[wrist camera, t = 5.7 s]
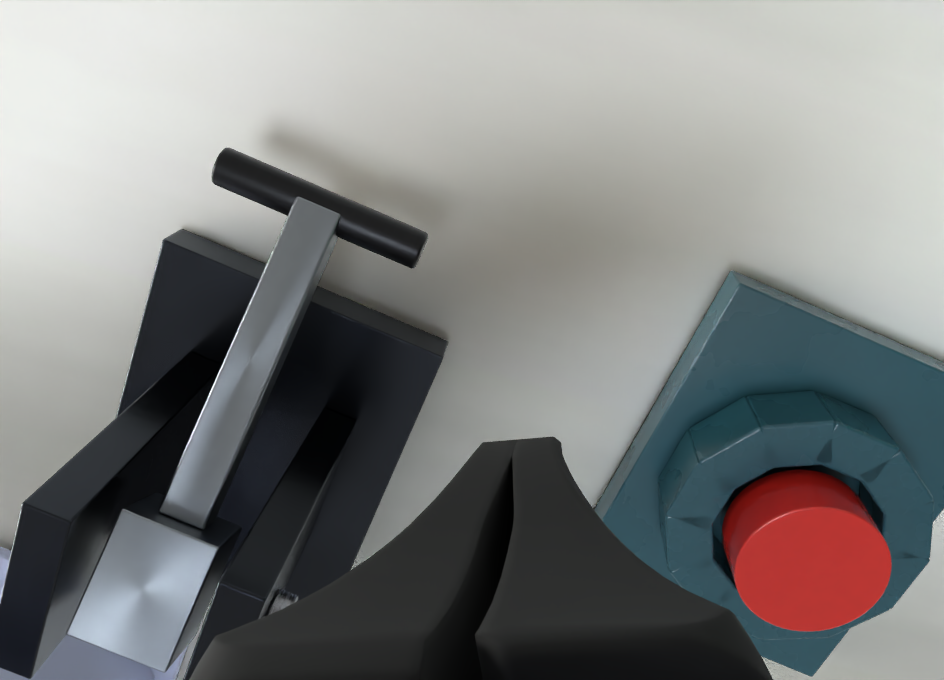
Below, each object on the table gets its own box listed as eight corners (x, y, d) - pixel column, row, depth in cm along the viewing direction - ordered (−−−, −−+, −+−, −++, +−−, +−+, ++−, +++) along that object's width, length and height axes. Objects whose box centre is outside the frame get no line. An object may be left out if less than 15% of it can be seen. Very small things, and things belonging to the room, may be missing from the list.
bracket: (182, 227, 23) (-33, 347, 14) (449, 341, 23) (387, 520, 15) (106, 506, 26) (-98, 725, 18) (336, 598, 27) (238, 854, 19)
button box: (801, 649, 26) (830, 726, 23) (568, 553, 25) (569, 620, 22) (1000, 387, 22) (1064, 441, 19) (730, 268, 21) (755, 306, 19)
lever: (238, 161, 20) (215, 131, 17) (428, 242, 20) (431, 224, 18) (51, 580, 19) (-1, 609, 17) (250, 658, 19) (228, 699, 17)
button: (818, 605, 22) (838, 653, 20) (696, 555, 22) (707, 598, 20) (895, 501, 20) (923, 543, 19) (766, 447, 20) (784, 484, 19)
